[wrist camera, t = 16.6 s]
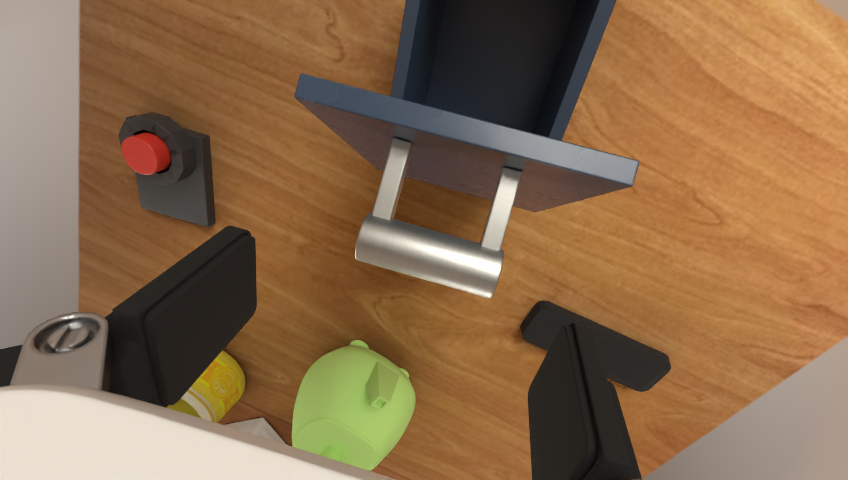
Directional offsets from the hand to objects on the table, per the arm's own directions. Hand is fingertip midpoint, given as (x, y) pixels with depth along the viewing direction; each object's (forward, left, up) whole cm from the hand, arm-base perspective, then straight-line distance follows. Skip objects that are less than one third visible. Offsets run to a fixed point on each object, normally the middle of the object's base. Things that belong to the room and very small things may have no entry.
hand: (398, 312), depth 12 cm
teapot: (+33, -5, -25) cm, 42 cm away
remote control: (+18, +18, -25) cm, 36 cm away
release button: (+9, -29, -23) cm, 38 cm away
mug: (+40, -27, -25) cm, 54 cm away
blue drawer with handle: (-2, 0, -9) cm, 9 cm away
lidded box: (-5, 0, -25) cm, 26 cm away
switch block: (+12, -29, -25) cm, 40 cm away
